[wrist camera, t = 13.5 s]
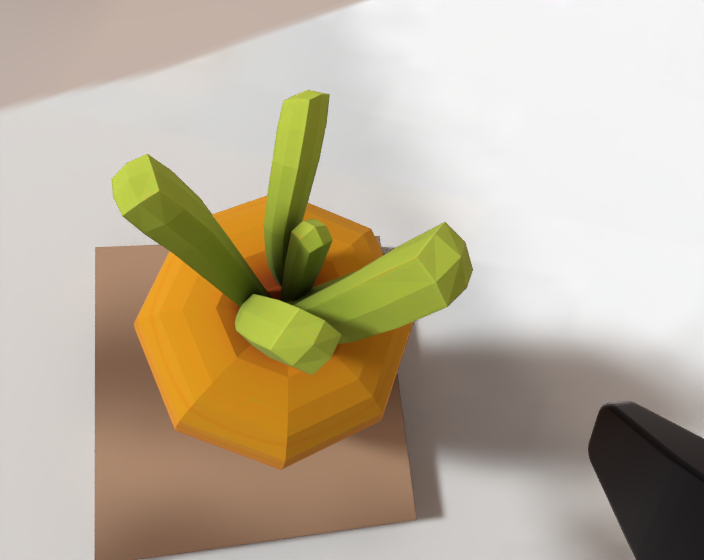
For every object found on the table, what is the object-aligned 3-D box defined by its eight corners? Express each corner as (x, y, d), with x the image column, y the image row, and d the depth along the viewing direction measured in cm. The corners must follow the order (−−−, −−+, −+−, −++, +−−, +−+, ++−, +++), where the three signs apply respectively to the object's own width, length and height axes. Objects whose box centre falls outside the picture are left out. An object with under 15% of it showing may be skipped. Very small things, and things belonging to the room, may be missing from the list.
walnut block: (400, 514, 22) (416, 519, 20) (107, 555, 20) (94, 565, 18) (368, 253, 25) (379, 236, 23) (106, 265, 23) (95, 247, 21)
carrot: (142, 391, 20) (-61, 214, 6) (251, 286, 21) (310, -53, 7) (253, 499, 19) (338, 603, 5) (355, 385, 21) (624, 232, 7)
